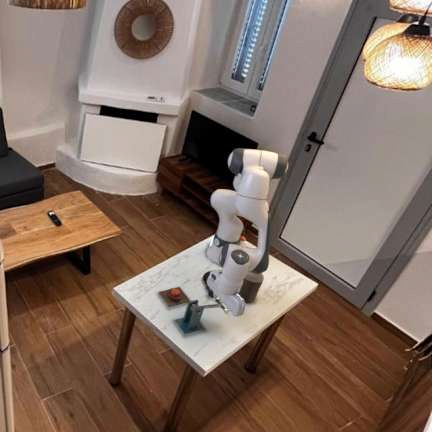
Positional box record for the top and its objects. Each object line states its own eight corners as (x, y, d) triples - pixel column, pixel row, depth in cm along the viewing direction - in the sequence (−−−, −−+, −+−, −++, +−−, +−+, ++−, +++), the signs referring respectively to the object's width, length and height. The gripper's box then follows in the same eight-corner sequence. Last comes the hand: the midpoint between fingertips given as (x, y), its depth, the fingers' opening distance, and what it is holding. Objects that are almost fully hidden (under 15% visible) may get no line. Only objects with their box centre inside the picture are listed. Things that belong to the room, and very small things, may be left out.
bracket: (193, 316, 178) (200, 295, 170) (204, 330, 172) (212, 309, 164) (174, 321, 176) (180, 300, 168) (184, 336, 170) (191, 314, 162)
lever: (217, 302, 175) (219, 298, 174) (224, 312, 171) (227, 308, 170) (187, 305, 169) (190, 301, 168) (195, 315, 165) (197, 311, 164)
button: (176, 290, 187) (176, 287, 186) (180, 295, 184) (181, 293, 183) (169, 292, 186) (170, 289, 185) (173, 297, 183) (174, 294, 182)
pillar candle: (241, 304, 184) (250, 282, 175) (228, 289, 192) (237, 267, 183) (259, 301, 186) (270, 278, 177) (246, 286, 193) (256, 263, 184)
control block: (178, 289, 192) (180, 284, 190) (189, 302, 185) (190, 297, 183) (158, 294, 189) (159, 289, 187) (168, 308, 182) (169, 303, 180)
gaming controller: (224, 301, 184) (217, 293, 183) (213, 305, 187) (206, 297, 185) (221, 286, 192) (214, 278, 190) (211, 290, 195) (204, 283, 193)
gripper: (253, 300, 157) (242, 323, 165) (220, 266, 173) (212, 288, 181) (239, 304, 156) (229, 326, 164) (208, 269, 171) (200, 291, 180)
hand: (220, 306), depth 173 cm, fingers closed on lever, 5 cm apart
